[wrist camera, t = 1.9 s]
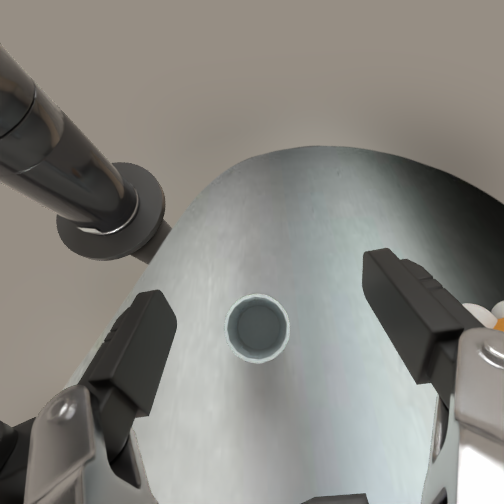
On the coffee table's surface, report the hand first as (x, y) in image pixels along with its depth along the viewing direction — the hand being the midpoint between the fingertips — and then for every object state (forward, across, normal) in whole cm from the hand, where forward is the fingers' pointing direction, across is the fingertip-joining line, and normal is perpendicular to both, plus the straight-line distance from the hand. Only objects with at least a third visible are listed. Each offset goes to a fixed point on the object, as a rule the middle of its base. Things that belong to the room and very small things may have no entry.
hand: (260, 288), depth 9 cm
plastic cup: (+13, +3, +18) cm, 22 cm away
